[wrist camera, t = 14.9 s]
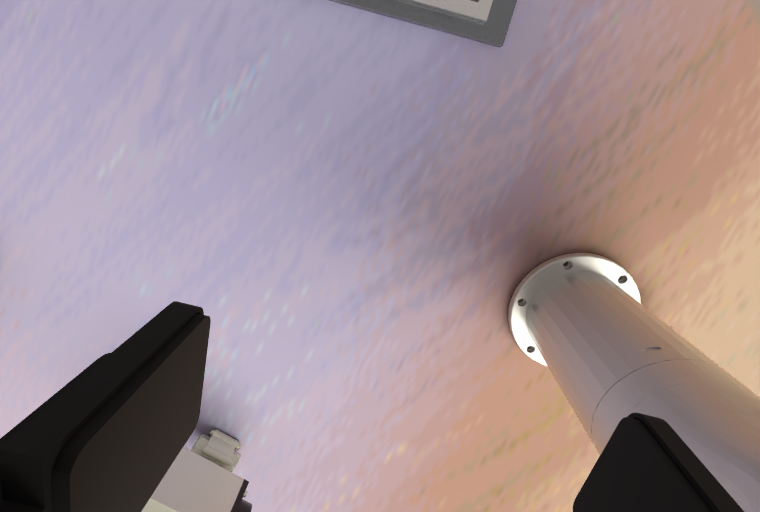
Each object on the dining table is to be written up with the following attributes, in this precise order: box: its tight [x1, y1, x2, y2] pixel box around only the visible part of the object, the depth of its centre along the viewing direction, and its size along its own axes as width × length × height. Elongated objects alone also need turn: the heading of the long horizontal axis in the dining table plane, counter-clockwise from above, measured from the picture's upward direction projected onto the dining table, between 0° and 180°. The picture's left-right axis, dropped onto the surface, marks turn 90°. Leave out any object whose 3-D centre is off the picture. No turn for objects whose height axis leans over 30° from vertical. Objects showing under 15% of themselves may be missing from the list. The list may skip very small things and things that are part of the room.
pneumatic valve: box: [141, 429, 252, 512], centre depth 43 cm, size 6×12×12 cm, turn 55°
